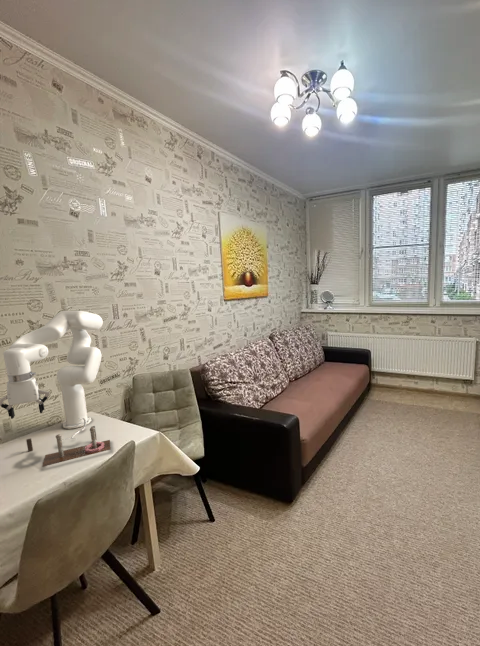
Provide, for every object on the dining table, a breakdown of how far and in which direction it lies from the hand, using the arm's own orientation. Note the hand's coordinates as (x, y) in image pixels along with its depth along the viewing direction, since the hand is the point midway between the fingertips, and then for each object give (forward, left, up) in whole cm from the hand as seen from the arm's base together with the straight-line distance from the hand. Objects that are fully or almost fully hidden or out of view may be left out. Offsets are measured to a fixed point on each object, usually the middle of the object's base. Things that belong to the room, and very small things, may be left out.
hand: (27, 414), depth 133 cm
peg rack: (+13, +17, -18) cm, 28 cm away
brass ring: (+6, -1, -18) cm, 19 cm away
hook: (-7, +15, -18) cm, 25 cm away
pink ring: (+11, +23, -17) cm, 30 cm away
